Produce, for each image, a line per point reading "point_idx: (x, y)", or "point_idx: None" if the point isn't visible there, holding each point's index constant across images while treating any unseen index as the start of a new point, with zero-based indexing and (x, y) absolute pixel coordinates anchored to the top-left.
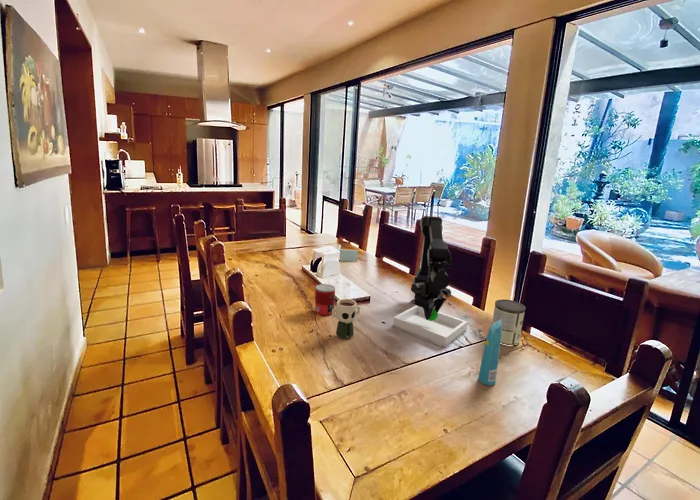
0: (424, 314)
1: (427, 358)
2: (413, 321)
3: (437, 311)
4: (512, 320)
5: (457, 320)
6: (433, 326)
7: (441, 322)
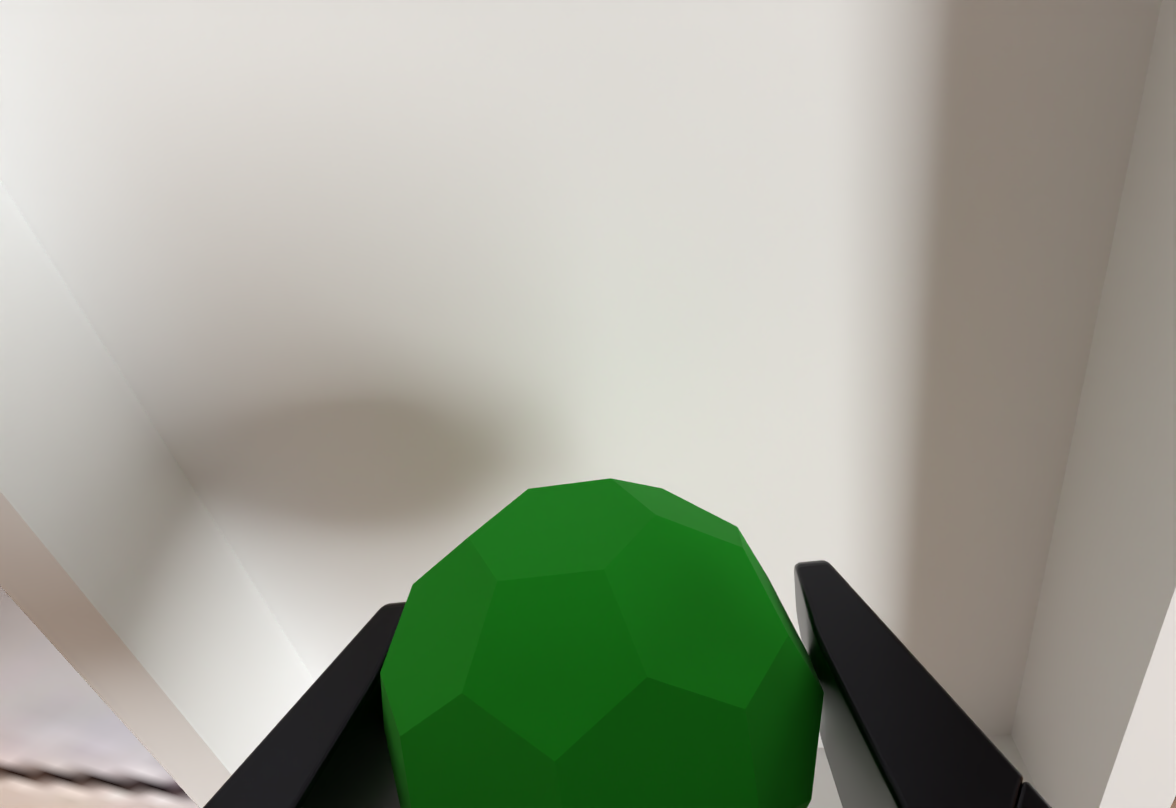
0: (446, 562)
1: (10, 773)
2: (444, 37)
3: (843, 805)
4: None
5: (1087, 792)
6: (678, 478)
7: (1003, 464)
